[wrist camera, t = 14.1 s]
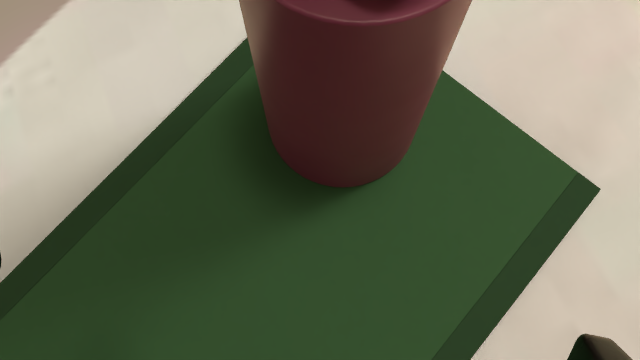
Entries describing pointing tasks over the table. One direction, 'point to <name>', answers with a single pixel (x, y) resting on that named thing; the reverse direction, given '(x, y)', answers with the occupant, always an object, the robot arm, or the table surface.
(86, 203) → the cloth
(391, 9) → the grape tub
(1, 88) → the table surface
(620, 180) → the table surface
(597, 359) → the robot arm
